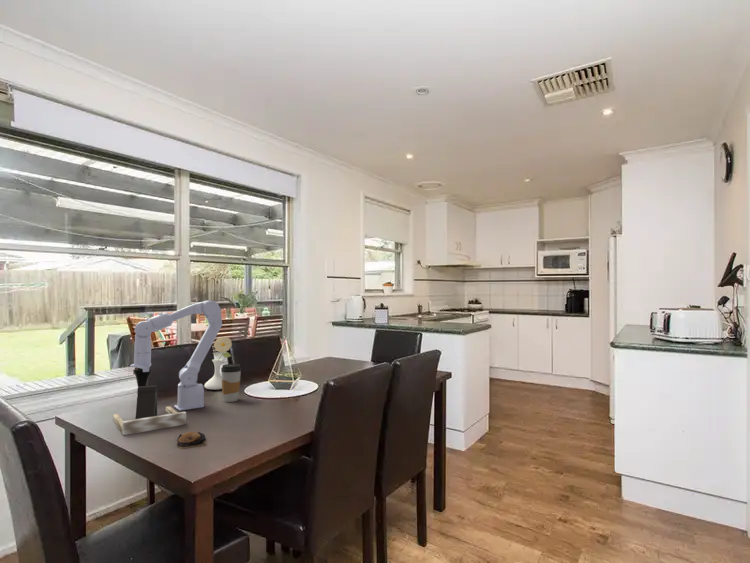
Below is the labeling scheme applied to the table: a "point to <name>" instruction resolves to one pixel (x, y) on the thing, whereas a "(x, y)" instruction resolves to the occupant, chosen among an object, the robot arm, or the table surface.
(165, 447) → the table surface
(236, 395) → the coffee cup
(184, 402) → the robot arm
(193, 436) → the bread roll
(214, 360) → the flower in vase
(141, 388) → the phone stand
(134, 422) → the bar
